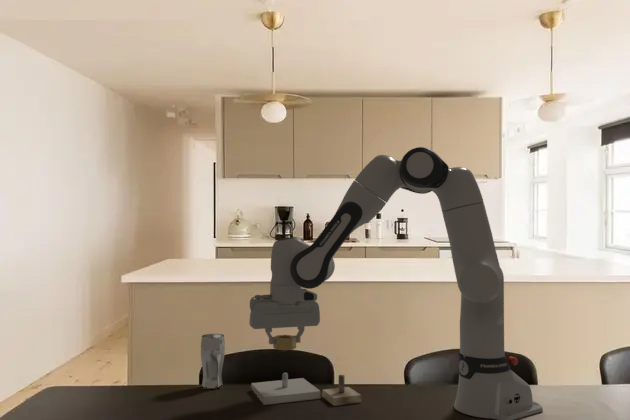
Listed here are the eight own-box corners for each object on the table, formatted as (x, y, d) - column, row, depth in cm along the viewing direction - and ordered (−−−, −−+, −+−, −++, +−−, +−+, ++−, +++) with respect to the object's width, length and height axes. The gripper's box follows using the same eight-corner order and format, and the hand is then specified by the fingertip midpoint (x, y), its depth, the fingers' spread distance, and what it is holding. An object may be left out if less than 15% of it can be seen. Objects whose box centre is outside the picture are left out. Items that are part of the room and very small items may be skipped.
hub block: (303, 384, 156) (303, 364, 156) (320, 398, 143) (320, 376, 143) (251, 390, 150) (251, 369, 150) (264, 404, 137) (264, 381, 137)
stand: (348, 394, 147) (348, 370, 147) (361, 402, 139) (361, 377, 140) (322, 397, 144) (322, 373, 144) (333, 405, 136) (333, 380, 137)
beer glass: (218, 391, 149) (219, 338, 149) (196, 389, 150) (197, 337, 151) (227, 384, 155) (228, 334, 156) (205, 383, 157) (206, 332, 158)
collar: (291, 344, 151) (291, 334, 151) (298, 349, 145) (298, 338, 145) (271, 346, 149) (271, 335, 149) (277, 350, 143) (277, 339, 143)
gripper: (252, 296, 141) (251, 347, 140) (322, 294, 148) (321, 343, 148) (247, 293, 147) (246, 343, 146) (314, 292, 154) (313, 338, 154)
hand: (284, 343), depth 147 cm, fingers closed on collar, 6 cm apart
